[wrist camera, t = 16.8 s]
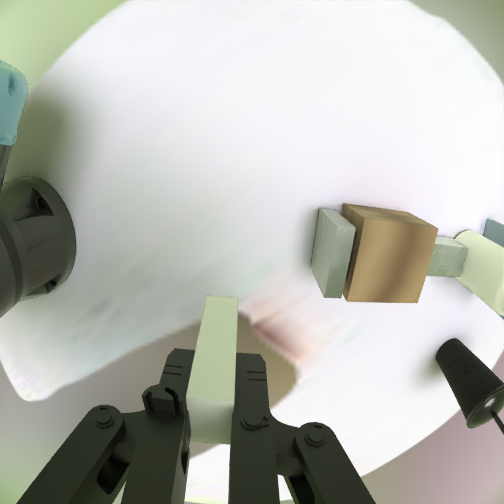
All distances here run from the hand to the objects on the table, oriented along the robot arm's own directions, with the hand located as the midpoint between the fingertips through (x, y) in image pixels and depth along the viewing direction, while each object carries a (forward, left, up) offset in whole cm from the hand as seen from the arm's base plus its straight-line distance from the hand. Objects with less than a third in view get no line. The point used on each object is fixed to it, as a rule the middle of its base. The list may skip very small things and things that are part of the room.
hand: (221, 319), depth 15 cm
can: (+29, 0, -17) cm, 33 cm away
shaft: (+17, 0, -16) cm, 23 cm away
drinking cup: (+34, -16, -17) cm, 41 cm away
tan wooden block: (+15, 0, -16) cm, 22 cm away
